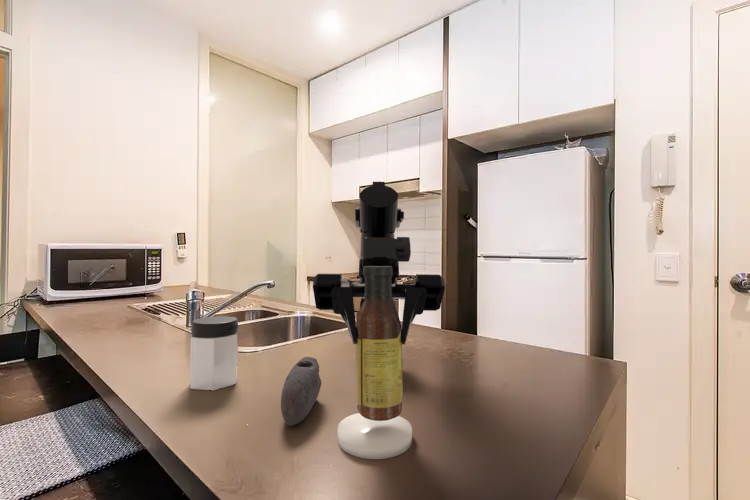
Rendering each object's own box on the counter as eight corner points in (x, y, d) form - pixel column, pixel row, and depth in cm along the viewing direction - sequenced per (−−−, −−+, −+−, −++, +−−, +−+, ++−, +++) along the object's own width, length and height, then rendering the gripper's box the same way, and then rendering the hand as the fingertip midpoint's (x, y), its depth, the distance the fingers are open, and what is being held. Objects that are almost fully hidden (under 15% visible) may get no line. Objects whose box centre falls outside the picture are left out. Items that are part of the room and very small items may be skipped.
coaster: (323, 448, 47) (323, 436, 47) (357, 416, 57) (357, 406, 57) (397, 466, 43) (397, 454, 43) (420, 429, 53) (420, 418, 53)
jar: (237, 388, 68) (238, 322, 68) (187, 394, 65) (188, 325, 65) (237, 373, 76) (238, 314, 76) (193, 377, 73) (194, 316, 73)
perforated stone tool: (305, 436, 50) (305, 385, 51) (267, 435, 51) (267, 384, 51) (325, 394, 65) (325, 355, 65) (295, 393, 66) (295, 354, 66)
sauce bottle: (412, 414, 50) (414, 266, 50) (376, 428, 46) (378, 267, 46) (380, 399, 55) (382, 264, 55) (345, 410, 51) (347, 265, 51)
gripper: (315, 218, 54) (300, 305, 43) (443, 219, 54) (461, 307, 43) (321, 269, 62) (310, 354, 51) (433, 269, 62) (446, 354, 51)
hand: (379, 342), depth 49 cm, fingers closed on sauce bottle, 6 cm apart
